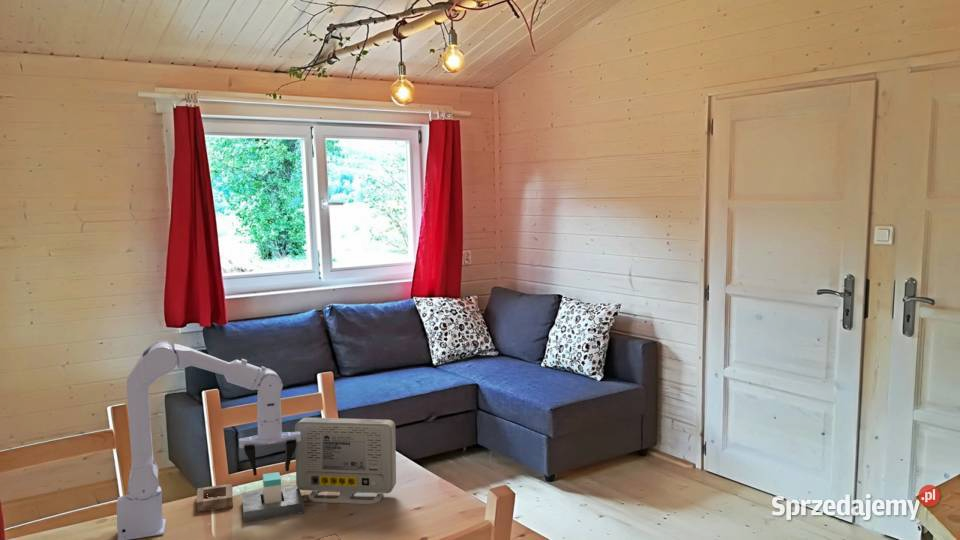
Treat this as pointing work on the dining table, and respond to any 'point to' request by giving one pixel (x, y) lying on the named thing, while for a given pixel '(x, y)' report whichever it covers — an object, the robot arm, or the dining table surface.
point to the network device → (346, 457)
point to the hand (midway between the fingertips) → (271, 472)
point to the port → (272, 504)
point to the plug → (272, 488)
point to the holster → (214, 502)
